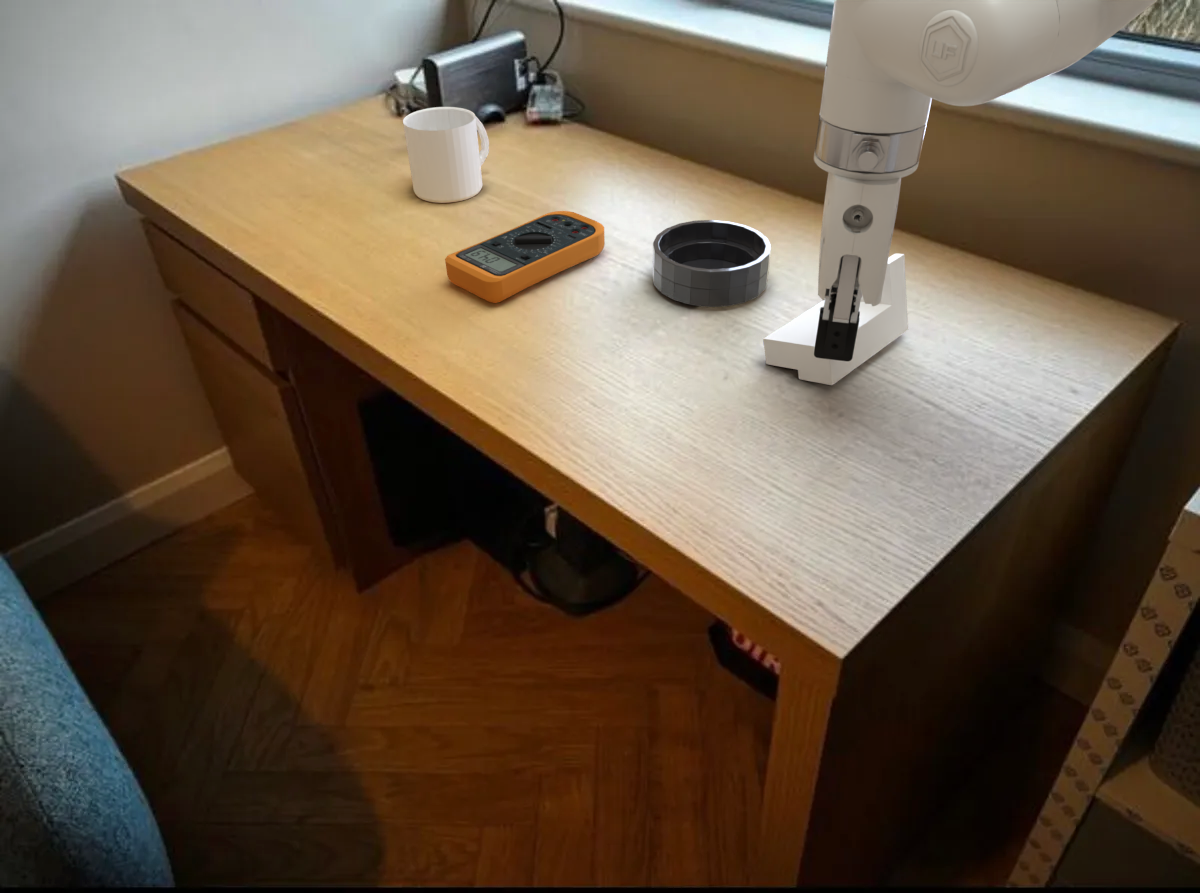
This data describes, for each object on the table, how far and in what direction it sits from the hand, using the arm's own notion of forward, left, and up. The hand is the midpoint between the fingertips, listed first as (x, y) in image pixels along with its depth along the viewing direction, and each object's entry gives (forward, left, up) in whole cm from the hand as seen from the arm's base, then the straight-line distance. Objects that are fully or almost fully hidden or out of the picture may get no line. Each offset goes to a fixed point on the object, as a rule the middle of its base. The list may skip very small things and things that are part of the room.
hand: (832, 354), depth 77 cm
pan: (+14, -19, -5) cm, 24 cm away
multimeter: (+34, -18, -5) cm, 38 cm away
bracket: (0, -8, -5) cm, 10 cm away
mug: (+51, -38, -5) cm, 63 cm away
